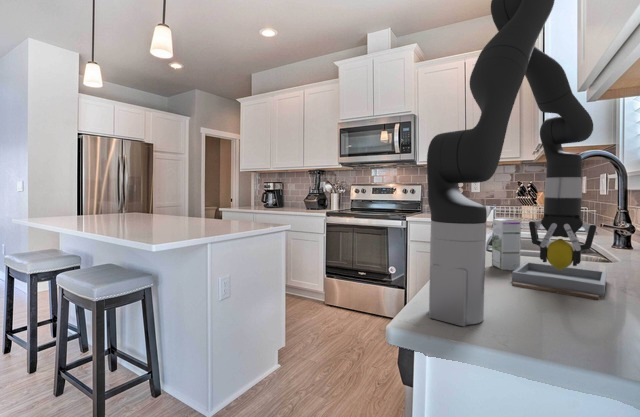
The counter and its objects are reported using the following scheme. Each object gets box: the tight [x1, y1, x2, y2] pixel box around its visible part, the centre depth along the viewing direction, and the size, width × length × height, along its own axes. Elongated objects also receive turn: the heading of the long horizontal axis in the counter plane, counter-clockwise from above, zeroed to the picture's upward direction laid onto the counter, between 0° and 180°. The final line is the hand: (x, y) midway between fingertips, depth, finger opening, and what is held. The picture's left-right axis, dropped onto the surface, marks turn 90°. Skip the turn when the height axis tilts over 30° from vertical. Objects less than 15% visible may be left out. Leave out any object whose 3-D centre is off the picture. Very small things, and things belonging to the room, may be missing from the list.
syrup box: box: [491, 217, 522, 271], centre depth 100 cm, size 6×6×14 cm
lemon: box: [547, 238, 574, 270], centre depth 85 cm, size 6×6×8 cm
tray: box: [511, 261, 608, 297], centre depth 85 cm, size 16×18×2 cm
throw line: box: [511, 282, 600, 301], centre depth 77 cm, size 2×16×1 cm, turn 49°
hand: (559, 263), depth 85 cm, fingers closed on lemon, 5 cm apart
